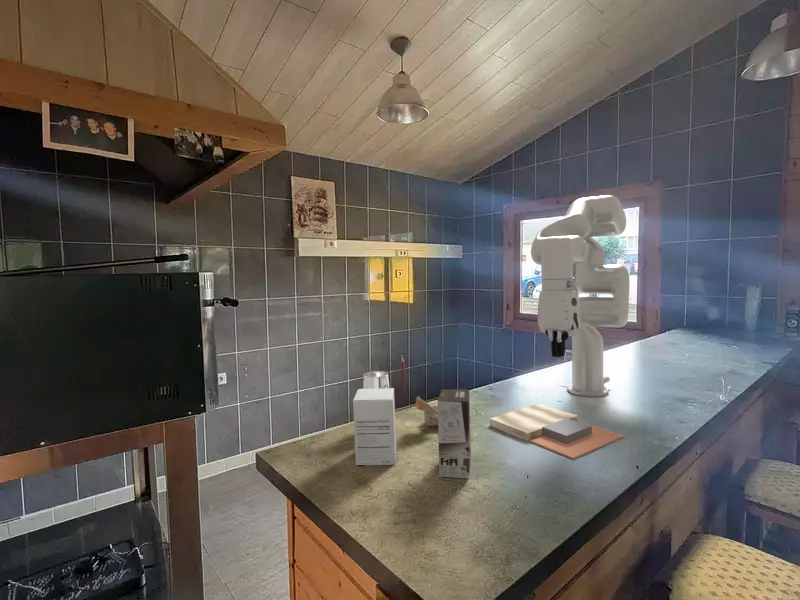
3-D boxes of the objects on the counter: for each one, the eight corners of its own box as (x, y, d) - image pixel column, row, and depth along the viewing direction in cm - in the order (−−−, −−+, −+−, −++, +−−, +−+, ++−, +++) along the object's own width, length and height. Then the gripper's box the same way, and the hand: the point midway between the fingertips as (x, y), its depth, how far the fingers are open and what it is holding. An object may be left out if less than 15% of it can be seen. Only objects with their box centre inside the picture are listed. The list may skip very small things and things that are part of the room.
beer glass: (379, 421, 120) (377, 369, 119) (396, 427, 115) (394, 373, 114) (359, 428, 115) (357, 374, 114) (376, 435, 110) (374, 378, 109)
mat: (579, 423, 114) (579, 421, 114) (623, 437, 104) (623, 435, 104) (529, 441, 103) (529, 440, 103) (573, 459, 93) (573, 457, 93)
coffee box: (470, 479, 86) (468, 401, 85) (438, 477, 87) (436, 400, 86) (471, 459, 95) (470, 388, 93) (443, 457, 96) (441, 387, 95)
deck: (538, 410, 125) (538, 403, 125) (578, 422, 114) (578, 415, 114) (489, 425, 114) (489, 418, 114) (528, 441, 103) (528, 433, 103)
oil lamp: (406, 430, 113) (405, 393, 113) (452, 409, 129) (451, 376, 128) (432, 438, 107) (430, 399, 107) (477, 414, 123) (476, 381, 123)
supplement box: (359, 449, 102) (357, 388, 101) (396, 448, 102) (394, 387, 101) (354, 466, 93) (351, 399, 92) (395, 465, 93) (392, 398, 92)
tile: (567, 425, 111) (567, 418, 111) (591, 433, 105) (591, 426, 105) (542, 434, 106) (542, 427, 106) (566, 444, 100) (566, 435, 100)
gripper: (593, 285, 104) (593, 358, 106) (542, 283, 116) (543, 349, 118) (574, 287, 100) (575, 364, 102) (523, 286, 112) (525, 354, 114)
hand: (558, 355), depth 110 cm, fingers closed
